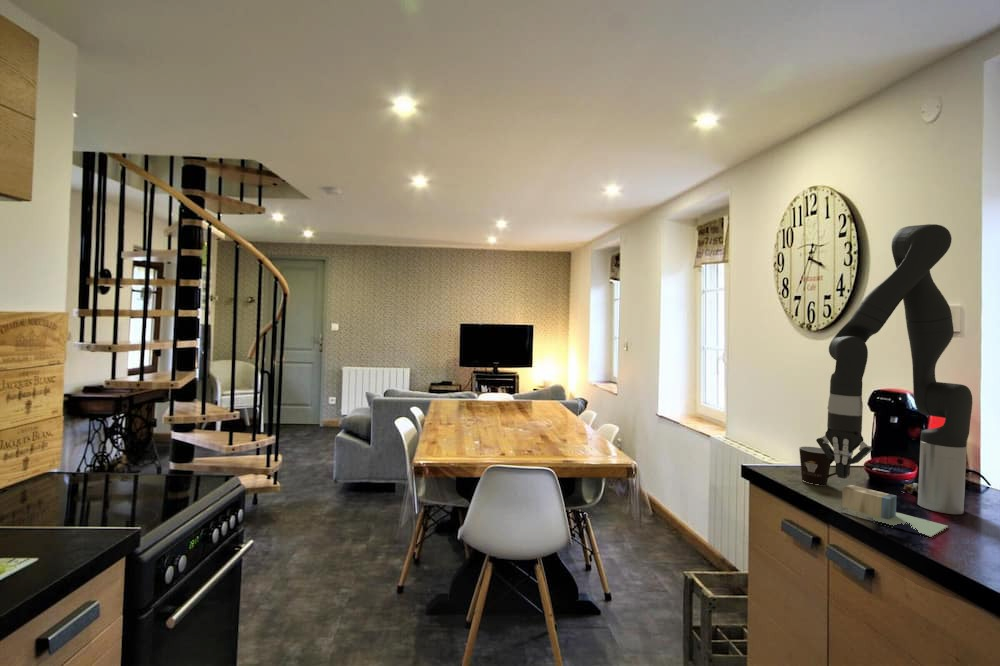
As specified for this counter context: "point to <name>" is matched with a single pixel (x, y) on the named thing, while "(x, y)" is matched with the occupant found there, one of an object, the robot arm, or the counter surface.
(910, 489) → the wrapped sandwich
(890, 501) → the maple block
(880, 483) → the counter surface
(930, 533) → the green mat
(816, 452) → the coffee mug
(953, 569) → the counter surface
